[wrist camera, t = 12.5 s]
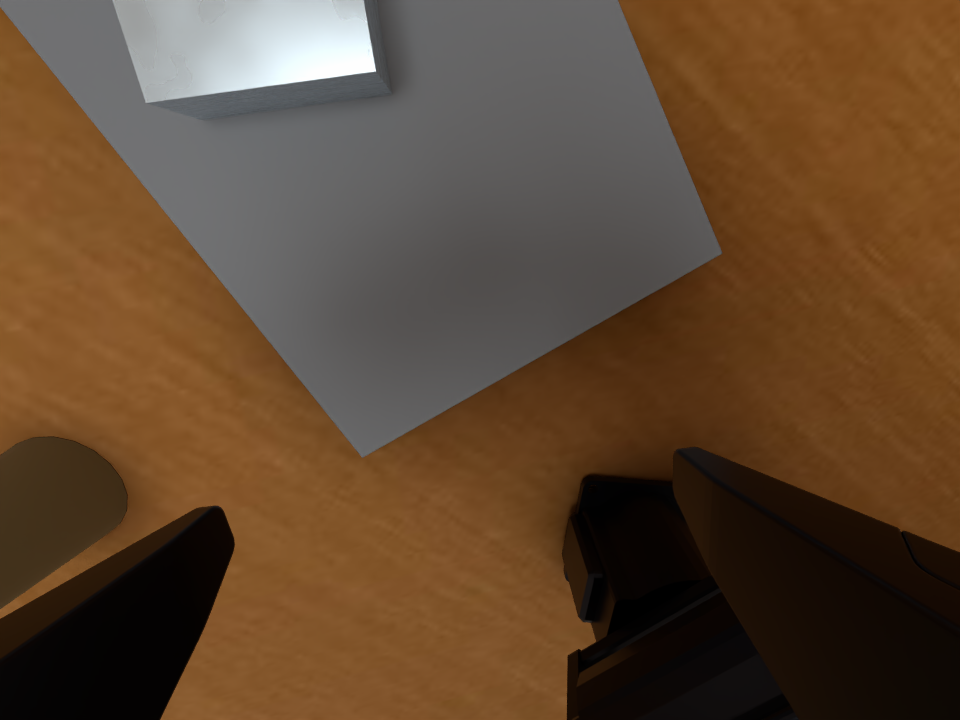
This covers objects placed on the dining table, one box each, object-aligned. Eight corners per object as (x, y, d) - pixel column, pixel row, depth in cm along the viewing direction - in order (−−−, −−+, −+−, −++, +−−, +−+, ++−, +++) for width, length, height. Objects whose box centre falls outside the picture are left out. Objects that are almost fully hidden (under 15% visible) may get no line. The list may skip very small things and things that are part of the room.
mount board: (709, 250, 19) (722, 253, 18) (366, 446, 22) (362, 457, 21) (340, -625, 12) (329, -698, 11) (-113, -159, 14) (-153, -184, 14)
